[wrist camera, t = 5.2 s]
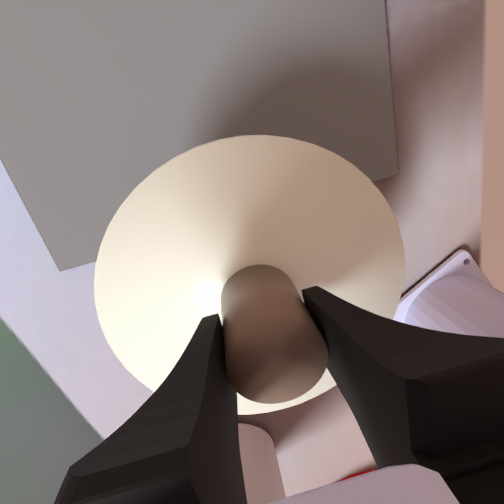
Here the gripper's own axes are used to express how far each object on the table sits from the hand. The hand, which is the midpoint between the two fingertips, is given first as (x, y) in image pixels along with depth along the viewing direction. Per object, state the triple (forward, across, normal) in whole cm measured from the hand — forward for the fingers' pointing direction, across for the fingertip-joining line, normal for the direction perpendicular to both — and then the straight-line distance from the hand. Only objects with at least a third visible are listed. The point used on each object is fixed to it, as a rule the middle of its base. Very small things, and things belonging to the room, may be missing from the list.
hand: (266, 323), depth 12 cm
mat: (+10, 0, -10) cm, 14 cm away
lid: (+2, 0, 0) cm, 2 cm away
